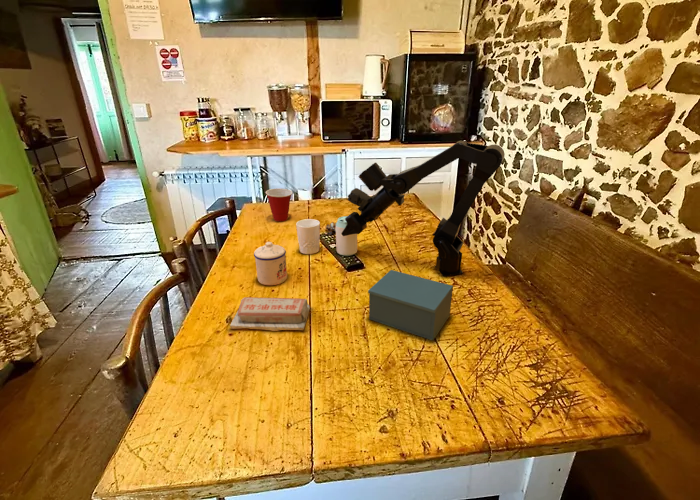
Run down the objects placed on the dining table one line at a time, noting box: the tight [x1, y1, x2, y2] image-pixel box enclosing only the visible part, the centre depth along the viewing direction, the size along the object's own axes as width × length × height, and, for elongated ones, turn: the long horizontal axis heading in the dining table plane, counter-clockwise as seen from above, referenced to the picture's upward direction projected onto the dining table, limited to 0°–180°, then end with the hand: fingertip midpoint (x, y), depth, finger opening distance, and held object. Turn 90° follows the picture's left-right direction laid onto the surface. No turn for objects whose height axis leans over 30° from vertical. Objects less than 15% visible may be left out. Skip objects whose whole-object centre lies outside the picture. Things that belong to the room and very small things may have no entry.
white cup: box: [295, 218, 321, 255], centre depth 134 cm, size 8×8×10 cm
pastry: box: [324, 221, 336, 236], centre depth 150 cm, size 7×12×4 cm, turn 89°
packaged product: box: [229, 296, 311, 332], centre depth 97 cm, size 18×5×10 cm
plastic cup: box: [265, 188, 293, 222], centre depth 162 cm, size 11×11×12 cm
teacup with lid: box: [253, 241, 288, 286], centre depth 116 cm, size 12×9×12 cm
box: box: [368, 288, 454, 341], centre depth 97 cm, size 12×17×8 cm
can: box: [335, 215, 358, 257], centre depth 131 cm, size 7×7×12 cm
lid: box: [367, 269, 454, 313], centre depth 94 cm, size 12×17×1 cm
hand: (348, 229), depth 130 cm, fingers open, 9 cm apart
